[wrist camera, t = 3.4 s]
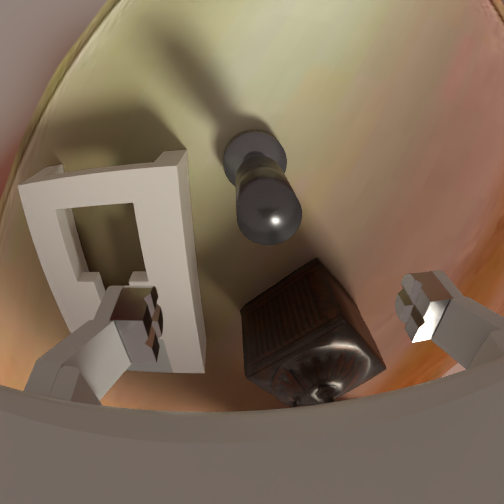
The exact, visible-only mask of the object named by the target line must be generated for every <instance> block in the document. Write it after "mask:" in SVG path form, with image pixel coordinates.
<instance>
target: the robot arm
mask: <svg viewBox="0 0 504 504" xmlns="http://www.w3.org/2000/svg"><path fill="white" fill-rule="evenodd" d="M401 284H402V287H403V289H402V290H401V291H400V292H399V293H398V295H397V298H396V301H395V309H396V313H397V316H398V317H399V319H400V320H401V321H402V322H404V323H406V326H405V330H406V332H407V334H408V335H409V337H410V339H411V341H412V342H417V341H423V340H429V339H432V341H433V342H434V343H435V344H437V345H438V346H439V347H440V348H441V349H443V350H444V351H445V352H446V353H447V354H449V355H450V356H451V357H452V358H453V359H455V360H456V361H457V362H458V363H459V364H461V365H462V366H463V367H464V368H465V369H466V370H464V371H461V372H458V373H455V374H452V375H449V376H446V377H443V378H439V379H436V380H432V381H429V382H425V383H421V384H418V385H414V386H410V387H406V388H402V389H398V390H394V391H389V392H385V393H380V394H376V395H371V396H366V397H361V398H355V399H350V400H344V401H338V402H331V403H324V404H317V405H310V406H301V407H292V408H282V409H270V410H255V411H232V412H178V411H156V410H141V409H129V408H119V407H110V406H103V405H102V404H101V402H100V399H101V398H102V397H103V396H104V395H105V394H106V392H107V391H108V390H109V389H110V388H111V387H112V386H113V384H114V383H115V382H116V381H117V380H118V379H119V378H120V376H121V375H122V374H123V373H124V372H125V371H126V369H127V368H128V367H129V366H130V365H131V363H157V359H158V354H159V348H160V346H159V342H158V339H159V338H160V337H161V336H162V332H163V315H162V310H161V307H160V306H159V305H158V304H157V300H158V293H157V289H156V287H155V286H126V285H125V286H109V287H108V288H107V290H106V292H105V294H104V296H103V299H102V301H101V303H100V305H99V308H98V310H97V312H96V315H95V317H94V319H93V320H89V321H87V322H86V323H84V324H83V325H82V326H81V327H79V328H78V329H77V330H75V331H74V332H73V333H71V334H70V335H69V336H67V337H66V338H65V339H63V340H62V341H61V342H59V343H58V344H57V345H56V346H54V347H53V348H52V349H50V350H49V351H48V352H47V353H45V354H44V355H43V356H41V357H40V358H39V359H38V360H37V361H36V363H35V365H34V367H33V370H32V372H31V374H30V377H29V379H28V382H27V384H26V386H25V389H24V391H21V390H17V389H14V388H10V387H6V386H3V385H0V504H504V317H502V316H501V315H499V314H497V313H495V312H494V311H492V310H490V309H488V308H487V307H485V306H483V305H481V304H480V303H478V302H476V301H474V300H472V299H471V298H469V297H464V296H463V295H462V293H461V292H460V291H459V290H458V289H457V287H456V286H455V285H454V284H453V282H452V281H451V280H450V279H449V278H448V276H447V275H446V274H445V273H444V272H443V271H441V270H436V271H429V272H422V273H410V274H406V275H405V276H404V277H403V280H402V283H401Z"/></svg>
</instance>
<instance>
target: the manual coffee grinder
mask: <svg viewBox="0 0 504 504" xmlns="http://www.w3.org/2000/svg"><path fill="white" fill-rule="evenodd" d="M240 313H241V316H242V334H243V353H244V370H245V376H246V378H247V379H248V380H250V381H251V382H253V383H254V384H256V385H257V386H259V387H260V388H262V389H263V390H265V391H267V392H268V393H270V394H272V395H273V396H275V397H276V398H277V399H278V400H279V401H280V402H282V403H285V404H287V405H291V406H292V407H301V406H310V405H317V404H324V403H331V402H335V401H334V399H335V398H337V397H339V396H341V395H343V394H345V393H347V392H349V391H350V390H352V389H354V388H356V387H358V386H360V385H361V384H363V383H365V382H366V381H368V380H370V379H371V378H373V377H375V376H376V375H378V374H379V373H381V372H383V371H384V370H386V366H385V363H384V361H383V359H382V357H381V354H380V352H379V350H378V348H377V346H376V343H375V341H374V339H373V337H372V335H371V333H370V331H369V329H368V327H367V325H366V324H365V322H364V320H363V318H362V316H361V314H360V311H359V309H358V307H357V305H356V304H355V302H354V301H353V300H352V298H351V297H350V296H349V294H348V293H347V292H346V290H345V289H344V288H343V287H342V285H341V284H340V283H339V282H338V281H337V279H336V278H335V277H334V276H333V275H332V274H331V273H330V272H329V271H328V269H327V268H326V267H325V266H324V265H323V264H322V263H321V262H320V261H319V259H318V258H316V259H314V260H312V261H311V262H309V263H307V264H305V265H304V266H302V267H300V268H299V269H297V270H296V271H294V272H293V273H291V274H290V275H288V276H287V277H285V278H284V279H282V280H281V281H280V282H278V283H277V284H275V285H274V286H272V287H271V288H269V289H268V290H266V291H265V292H263V293H262V294H260V295H259V296H257V297H256V298H254V299H253V300H251V301H250V302H248V303H247V304H246V305H245V306H244V307H243V308H242V310H241V311H240Z"/></svg>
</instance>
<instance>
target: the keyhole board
mask: <svg viewBox="0 0 504 504" xmlns="http://www.w3.org/2000/svg"><path fill="white" fill-rule="evenodd" d="M18 190H19V194H20V198H21V202H22V206H23V209H24V213H25V217H26V220H27V223H28V227H29V230H30V233H31V236H32V240H33V243H34V246H35V249H36V251H37V254H38V257H39V260H40V263H41V265H42V268H43V271H44V273H45V276H46V279H47V281H48V284H49V286H50V289H51V291H52V293H53V296H54V298H55V300H56V303H57V305H58V307H59V309H60V312H61V314H62V316H63V318H64V320H65V322H66V325H67V327H68V329H69V331H70V333H73V332H74V331H75V330H77V329H78V328H79V327H81V326H82V325H83V324H84V323H86V322H87V321H89V320H93V319H94V317H95V315H96V312H97V310H98V308H99V305H100V303H101V301H102V299H103V296H104V294H105V289H104V285H103V282H102V279H101V276H100V273H99V272H89V270H88V267H87V264H86V260H85V257H84V254H83V250H82V247H81V243H80V240H79V236H78V232H77V229H76V225H75V221H74V217H73V212H72V208H76V207H86V206H97V205H109V204H122V203H133V204H134V210H135V216H136V222H137V227H138V233H139V238H140V243H141V248H142V253H143V258H144V263H145V268H146V271H134V272H133V273H132V275H131V277H130V280H129V285H130V286H155V287H156V289H157V293H158V300H157V304H158V305H159V306H160V307H161V310H162V315H163V332H162V336H161V337H160V338H159V339H158V342H159V346H160V348H159V354H158V359H157V363H131V365H130V366H129V367H128V368H127V369H126V370H127V371H143V372H165V373H205V358H206V341H207V340H206V333H205V325H204V318H203V311H202V303H201V295H200V287H199V278H198V270H197V261H196V251H195V242H194V232H193V221H192V210H191V198H190V185H189V172H188V157H187V150H175V151H163V153H162V154H161V155H160V156H159V157H158V158H157V159H156V160H155V161H154V162H149V163H138V164H128V165H119V166H110V167H102V168H94V169H87V170H80V171H73V172H66V173H64V170H63V164H60V165H54V166H49V167H45V168H44V169H42V170H41V171H39V172H38V173H36V174H34V175H33V176H31V177H30V178H28V179H27V180H25V181H24V182H22V183H21V184H19V185H18Z"/></svg>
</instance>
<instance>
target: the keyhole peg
mask: <svg viewBox="0 0 504 504" xmlns="http://www.w3.org/2000/svg"><path fill="white" fill-rule="evenodd" d="M223 165H224V171H225V174H226V176H227V178H228V179H229V181H230V182H231V183H232V184H233V185H234V186H236V207H237V222H238V226H239V228H240V230H241V232H242V233H243V234H244V235H245V236H246V237H247V238H248V239H249V240H251V241H253V242H255V243H258V244H262V245H274V244H278V243H281V242H284V241H285V240H287V239H289V238H290V237H291V236H292V235H293V234H294V233H295V232H296V231H297V229H298V228H299V225H300V223H301V219H302V209H301V205H300V203H299V201H298V199H297V197H296V195H295V193H294V191H293V189H292V187H291V186H290V184H289V182H288V180H287V178H286V176H285V174H284V173H285V170H286V165H287V159H286V154H285V151H284V149H283V147H282V146H281V144H280V143H279V142H278V140H277V139H276V138H275V137H274V136H272V135H271V134H269V133H267V132H264V131H261V130H248V131H244V132H242V133H239V134H238V135H236V136H235V137H234V138H233V139H232V140H231V141H230V142H229V143H228V145H227V147H226V149H225V153H224V160H223Z"/></svg>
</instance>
